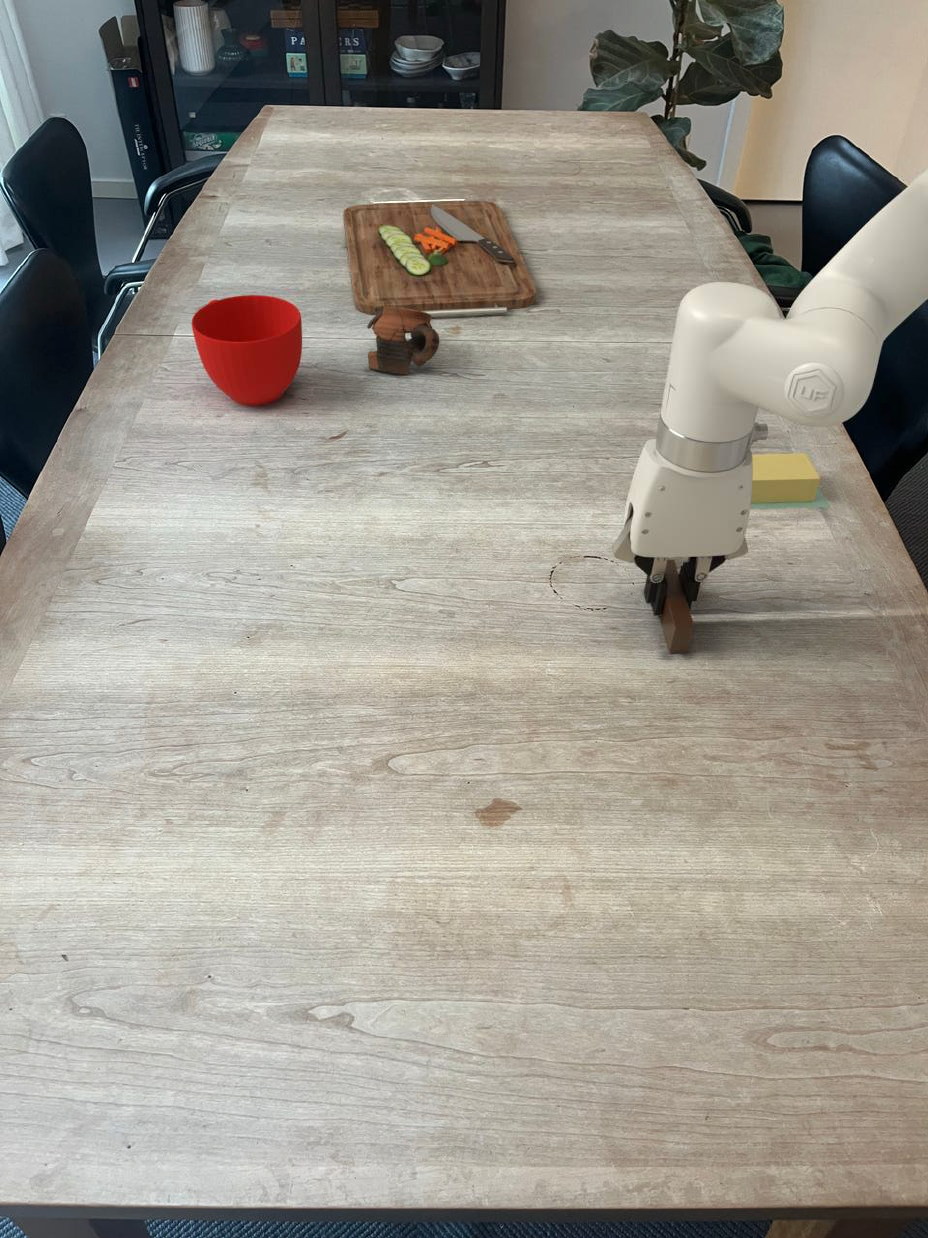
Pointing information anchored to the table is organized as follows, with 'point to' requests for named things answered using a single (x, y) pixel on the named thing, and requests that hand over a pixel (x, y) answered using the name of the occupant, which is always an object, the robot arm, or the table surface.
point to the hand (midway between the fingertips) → (668, 604)
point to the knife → (676, 613)
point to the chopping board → (435, 257)
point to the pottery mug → (401, 339)
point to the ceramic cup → (249, 346)
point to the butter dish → (794, 503)
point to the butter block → (783, 478)
